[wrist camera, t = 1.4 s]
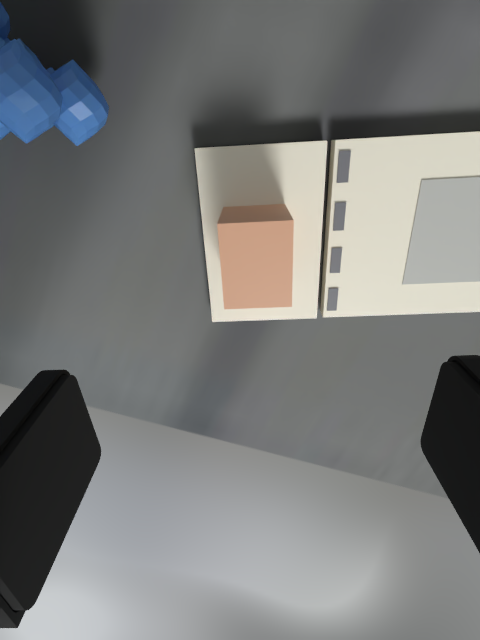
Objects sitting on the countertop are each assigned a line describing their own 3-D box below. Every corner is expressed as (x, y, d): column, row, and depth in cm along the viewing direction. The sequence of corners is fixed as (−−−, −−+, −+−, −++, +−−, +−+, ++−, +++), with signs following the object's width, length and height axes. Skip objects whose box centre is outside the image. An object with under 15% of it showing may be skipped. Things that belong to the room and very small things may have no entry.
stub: (323, 140, 21) (349, 141, 16) (313, 311, 27) (330, 355, 21) (197, 148, 22) (179, 151, 16) (213, 314, 27) (205, 358, 22)
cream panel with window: (597, 124, 21) (617, 123, 19) (528, 302, 26) (541, 310, 25) (331, 139, 21) (335, 140, 20) (320, 310, 27) (323, 318, 26)
